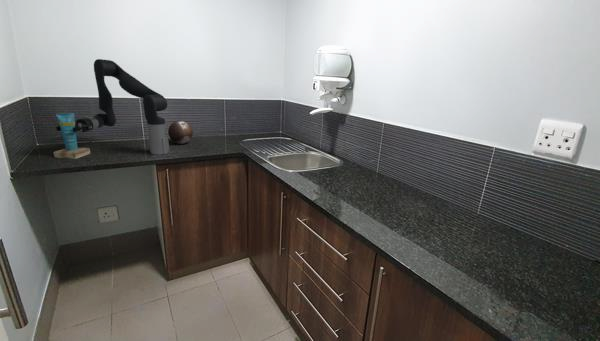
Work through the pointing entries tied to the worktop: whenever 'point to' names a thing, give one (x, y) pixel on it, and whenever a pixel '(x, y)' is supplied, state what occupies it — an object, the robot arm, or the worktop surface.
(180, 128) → the wooden sphere
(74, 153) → the plinth
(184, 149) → the worktop surface
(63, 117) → the tube
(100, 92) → the robot arm
